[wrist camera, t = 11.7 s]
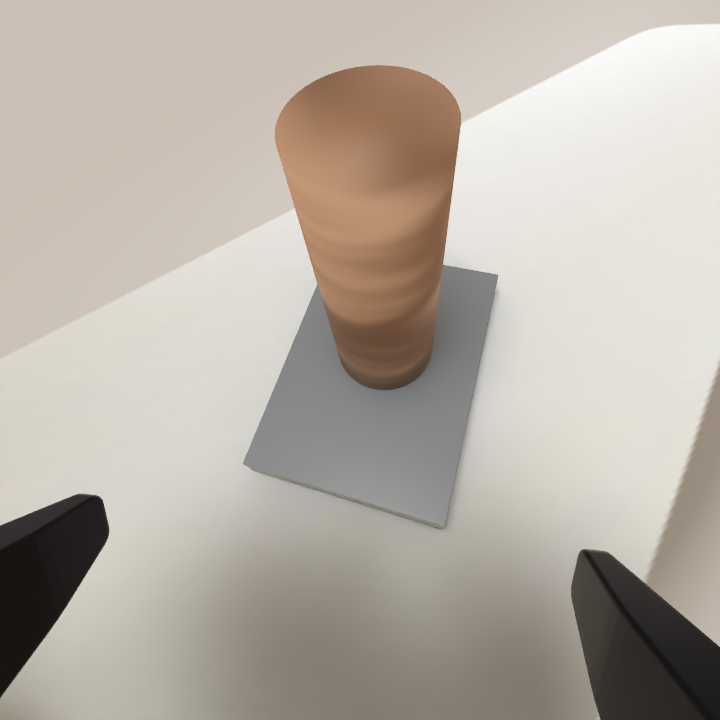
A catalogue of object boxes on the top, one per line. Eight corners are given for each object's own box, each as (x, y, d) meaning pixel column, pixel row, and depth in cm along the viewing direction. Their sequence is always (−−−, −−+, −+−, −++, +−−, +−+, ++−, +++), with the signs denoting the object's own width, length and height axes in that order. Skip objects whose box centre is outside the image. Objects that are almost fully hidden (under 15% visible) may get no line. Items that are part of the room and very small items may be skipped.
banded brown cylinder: (385, 409, 22) (365, 220, 10) (320, 349, 24) (238, 130, 12) (451, 345, 23) (500, 111, 11) (384, 292, 25) (367, 45, 13)
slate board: (442, 529, 20) (444, 526, 19) (252, 469, 23) (242, 463, 21) (493, 290, 26) (498, 275, 25) (337, 260, 28) (333, 245, 27)
